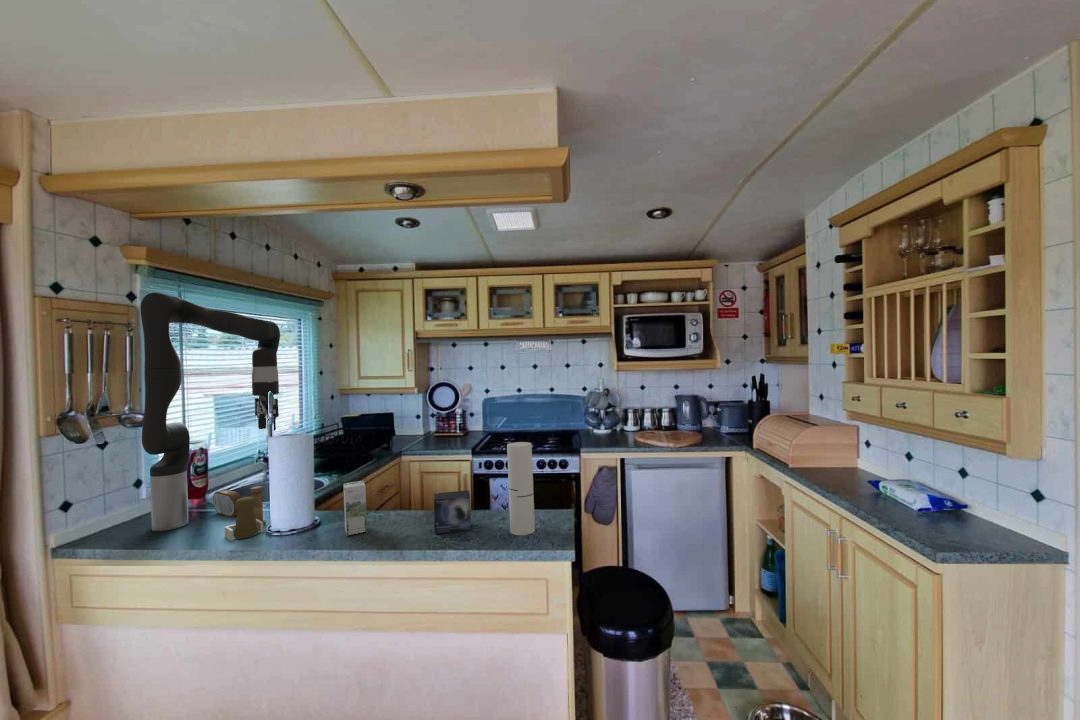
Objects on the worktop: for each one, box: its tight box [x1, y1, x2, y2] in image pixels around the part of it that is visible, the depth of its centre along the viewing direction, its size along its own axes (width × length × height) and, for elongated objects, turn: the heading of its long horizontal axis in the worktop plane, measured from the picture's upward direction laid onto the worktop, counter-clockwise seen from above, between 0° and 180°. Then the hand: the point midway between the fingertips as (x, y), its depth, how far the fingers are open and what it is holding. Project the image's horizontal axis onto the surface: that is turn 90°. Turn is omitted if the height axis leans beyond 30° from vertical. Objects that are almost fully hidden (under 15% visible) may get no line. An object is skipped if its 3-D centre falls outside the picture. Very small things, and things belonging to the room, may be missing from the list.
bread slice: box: [212, 488, 242, 518], centre depth 156 cm, size 15×3×8 cm, turn 60°
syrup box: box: [343, 480, 368, 537], centre depth 135 cm, size 6×6×14 cm
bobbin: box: [249, 485, 267, 526], centre depth 144 cm, size 4×4×12 cm
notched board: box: [224, 519, 264, 542], centre depth 136 cm, size 6×8×3 cm, turn 140°
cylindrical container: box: [506, 441, 536, 536], centre depth 131 cm, size 7×7×25 cm
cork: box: [234, 496, 259, 539], centre depth 135 cm, size 6×6×11 cm
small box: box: [433, 489, 472, 535], centre depth 134 cm, size 11×6×10 cm, turn 103°
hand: (267, 429), depth 149 cm, fingers open, 8 cm apart
